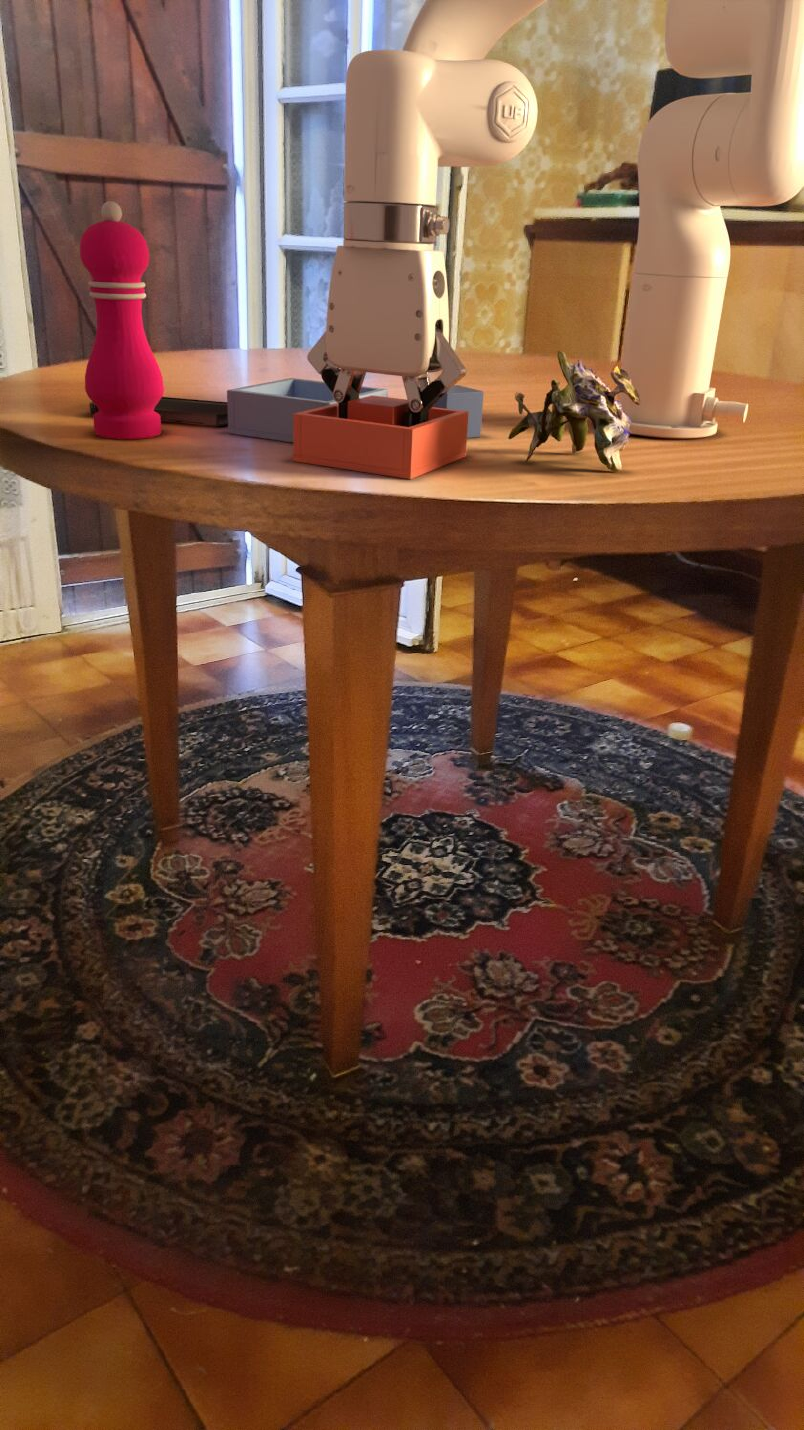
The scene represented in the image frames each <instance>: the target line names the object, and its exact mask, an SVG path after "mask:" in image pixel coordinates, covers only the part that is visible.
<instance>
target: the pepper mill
mask: <svg viewBox="0 0 804 1430" xmlns="http://www.w3.org/2000/svg"><path fill="white" fill-rule="evenodd" d="M100 213H101V217H102V218H103V220H102V221H99V222H96V223H92V224H91V225H89V226H88V227H87V228H86V229H85V231H84V232H83V233H82V235H81V238H80V242H79V255H80V257H79V258H80V261H81V263H82V265H83V267H84V268H85V270H86V271H87V272H88V273H89V274H90V276H91V280H89V281H88V283H87V284H88V286H89V293H88V295H89V297H91V298H93V299H94V305H95V311H96V332H95V337H94V338H95V339H94V342H93V346H92V349H91V352H90V354H89V358H88V361H87V363H86V368H85V373H84V390H85V393H86V395H87V397H88V398H89V400H90V402H93V403H94V404H95V405H96V406H97V407H98V409H99V412H97V413H95V414H94V415H92V418H93V419H92V420H93V431H94V433H95V435H96V436H98V437H101V438H105V439H113V440H144V439H150V438H155V437H158V436H160V434H162V421H161V416H160V415H159V414H158V413H157V412H154V408H155V406H156V405H157V403H158V402H159V401H160V399H161V398H162V397H164V396H163V395H164V394H165V384H164V378H163V374H162V371H161V368H160V365H159V364H158V361H157V359H156V357H155V355H154V353H153V351H152V349H151V346H150V344H149V342H148V339H147V336H146V333H145V329H144V322H143V313H142V310H143V309H142V308H143V300H144V299H146V298H147V294H146V293H145V291H146V290H145V287H146V283H145V282H144V281H141V280H142V276H143V274H144V273H145V271H147V269H148V267H149V264H150V250H149V247H148V243H147V241H146V239H145V237H144V235H143V234H142V232H140V230H138V229H137V228H136V227H134V226H132V225H131V224H129V223H126V222H123V221H121V220H122V217H123V211H122V207H121V206H120V205H119V204H118V203H117V202H115V201H112V200H108V201H106V202H104V203H103V204H102V206H101V209H100Z"/></svg>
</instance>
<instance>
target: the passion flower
mask: <svg viewBox="0 0 804 1430" xmlns="http://www.w3.org/2000/svg"><path fill="white" fill-rule="evenodd" d="M557 360H558V364H559V367H560V370H561V374H562V375H563V377H564V379H565V381H566V382H567V385H566V386H565V387H564V388H563V389H560V387H559V386H560V384H561V383H560V382H559V381H557V380H556V379H552V380H551V382H550V386H551V389H550V390H549V391H548V392H547V393H546V396H545V398H544V402H543V409H542V411H536V412H531V411H530V410H529V409H528V408H527V406H526V405H525V403H524V398H525V396H526V395H525V394H524V393H523V392H515V395H514V399H515V401H516V402H517V404H518V405H517V406H518V414H520V415H522V414H524V412H526V415H525V416H524V417H523V418H522V419H521V420H520V421H519V422H518V423H517V425H515V426H514V427H513V428H512V429H511V431H510V433H509V434H508V437H507V438H508V440H512V439H514V438H515V437H516V436H518V435H519V434H522V433H523V432H525V431H526V430H528V429H530V428H532V427H533V430H534V431H533V436H532V439H531V442H530V444H529V449H528V453H527V456H526V459H525V463H526V464H528V462H529V460H530V459H531V458H532V456H533V454H534V453H535V451H536V448H539V447H540V446H542V444H545V443H546V442H547V441H548V439H549V437H550V436H551V437H552V438H553V439H554V440H556V441H557V442H561V441H562V440H563V436H564V431H565V425H566V424H568V426H567V427H568V428H567V431H568V434H569V436H570V437H569V438H570V440H571V443H572V444H571V453H572V454H573V455H574V454H576V452H581V451H583V449H584V448H585V446H586V444H587V443H586V442H587V441H588V440H587V436H588V431H589V428H588V421H587V419H589V421H590V422H591V424H592V428H593V439H594V449H595V452H596V455H597V457H598V460H599V462H600V463H601V464H602V465H604V466H605V467H606V468H607V469H608V470H610V471H611V472H615V473H619V472H621V471H622V462H621V461H622V460H621V459H620V451H624V449H625V447H626V445H628V444H629V437H630V435H631V434H629V433H630V430H629V426H630V425H631V420H629V416H628V415H626V414H624V413H623V410H622V405H621V404H620V401H617V399H615V397H616V395H618V393H621V392H623V393H625V394H627V395H628V396H629V398H630V399H631V400H632V401H633V402H634V403H635V404H637V405H640V404H641V401H640V397H639V394H638V392H637V390H636V389H635V387H634V386H633V384H632V382H631V379H630V378H629V377H628V373H627V372H626V371H625V370H624V369H621V368H620V369H619V367H618V366H617V365H616V366H614V367H613V368H612V371H611V372H610V377H611V379H612V381H613V382H614V383H615V384H616V385H617V386H616V387H615V388H614V389H613V390H612V391H611V390H610V388H609V384H607V385H606V384H605V382H604V381H603V380H601V377H600V376H597V375H596V376H595V374H597V372H596V371H593V368H590V369H588V368H587V366H586V365H583V363H582V360H580V359H578V360H577V363H576V362H575V363H574V364H572V363H571V362H568V360H567V357H566V353H565V352H564V351H560V350H558V351H557ZM550 406H551V409H550Z"/></svg>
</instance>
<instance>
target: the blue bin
mask: <svg viewBox="0 0 804 1430" xmlns="http://www.w3.org/2000/svg"><path fill="white" fill-rule="evenodd" d="M372 395H373V396H381V397H389V396H388V395H389V389H388V388H382V387H381V388H380V387H372V386H364V385H362V387H361V390H360V393H359V398H364V397H368V396H372ZM226 402H227V407H228V424H227V433H228V434H230V435H231V434H232V435H237V436H245V437H252V438H259V439H266V440H271V441H272V440H273V441H278V442H279V441H280V442H285V443H292V444H293V414H294V413H298V412H302V411H307V410H311V409H315V408H319V407H323V406H327V405H331V404H335V403H337V402H336V401H334V399H333V393H332V392H331V390H330V389H329V388H328V386H327V385H326V384H325V382H324V381H323V380H321V381H320V380H312V379H303V378H295V377H290V378H284V379H279V380H273V381H268V382H264V383H263V382H262V383H258V384H252V385H247V386H241V387H235V388H231V389H227V390H226Z"/></svg>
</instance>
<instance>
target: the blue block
mask: <svg viewBox="0 0 804 1430" xmlns="http://www.w3.org/2000/svg"><path fill="white" fill-rule="evenodd" d="M484 393H485V392H484V391H483V390H480V389H475V388H472V387H467V386H463V385H459V384H455V385H454V386H453V387H451V388H450V389H449V390H448V391H447V392H446V393H445V394H444V395H443V396H442V397H441V398H440V399H439V400H438V401H437V402H436V403H435V405H434V406H433V407H436V408H445V409H453V410H460V411H468V412H469V415H468V430H467V439H473V438H480V437H481V435H482V420H483V406H484Z"/></svg>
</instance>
